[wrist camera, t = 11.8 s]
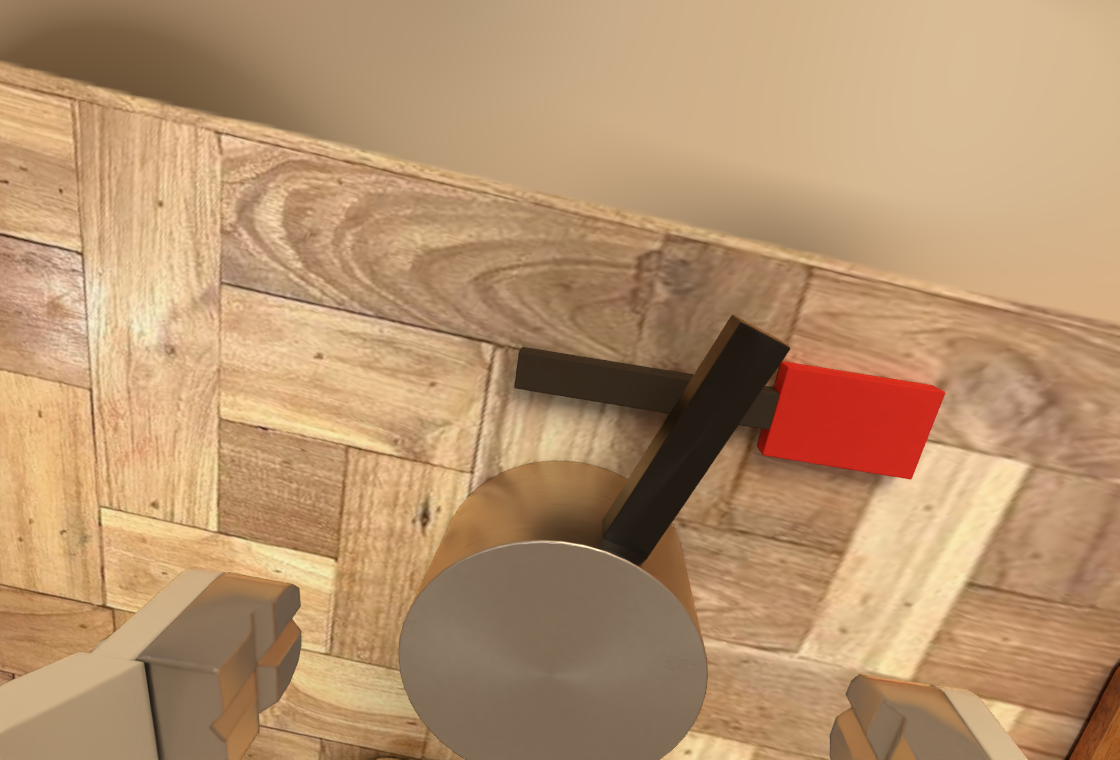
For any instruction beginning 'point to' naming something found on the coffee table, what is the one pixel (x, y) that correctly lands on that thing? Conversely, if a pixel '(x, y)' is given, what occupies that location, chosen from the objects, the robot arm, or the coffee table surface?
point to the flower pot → (387, 759)
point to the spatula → (771, 407)
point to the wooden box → (1103, 727)
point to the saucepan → (578, 592)
